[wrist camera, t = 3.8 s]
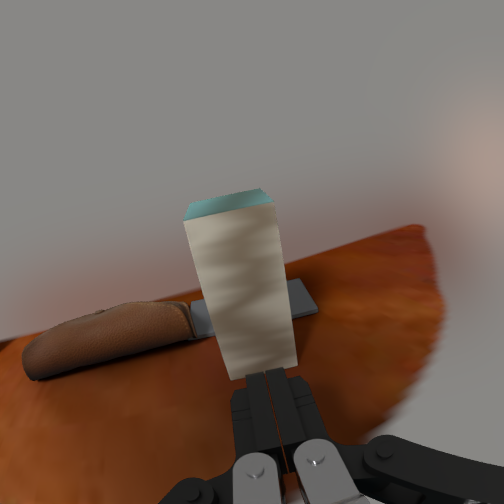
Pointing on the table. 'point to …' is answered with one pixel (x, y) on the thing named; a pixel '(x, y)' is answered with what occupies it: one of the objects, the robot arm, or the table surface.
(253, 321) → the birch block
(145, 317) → the sunglasses case
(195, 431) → the table surface
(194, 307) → the rubber mat
